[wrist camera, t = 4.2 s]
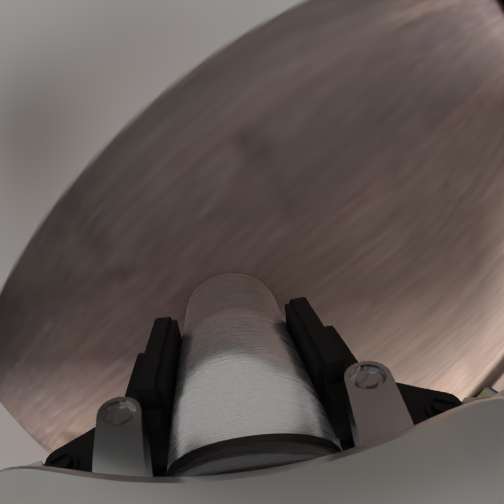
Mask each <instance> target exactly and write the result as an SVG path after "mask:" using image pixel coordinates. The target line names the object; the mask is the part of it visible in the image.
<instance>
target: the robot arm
mask: <svg viewBox="0 0 504 504" xmlns="http://www.w3.org/2000/svg"><path fill="white" fill-rule="evenodd" d="M285 314H286V325H287V327H288V330H289V332H290V334H291V336H292V339H293V341H294V343H295V345H296V348H297V350H298V352H299V354H300V356H301V359H302V361H303V363H304V365H305V368H306V370H307V372H308V374H309V377H310V379H311V381H312V383H313V386H314V388H315V390H316V392H317V395H318V397H319V399H320V401H321V404H322V406H323V408H324V410H325V413H326V415H327V417H328V419H329V422H330V424H331V426H332V428H333V431H334V433H335V435H336V437H337V440H338V442H339V444H340V447H341V449H342V451H341V452H338V453H334V454H331V455H327V456H323V457H319V458H315V459H311V460H307V461H303V462H298V463H294V464H289V465H284V466H279V467H273V468H267V469H261V470H254V471H247V472H239V473H231V474H220V475H207V476H188V477H166V476H167V463H168V451H169V440H170V430H171V420H172V411H173V402H174V394H175V385H176V378H177V370H178V363H179V355H180V348H181V342H182V338H181V334H180V331H179V327H178V323H177V321H176V320H172V319H171V317H166V318H157V319H155V322H154V325H153V328H152V331H151V334H150V337H149V341H148V344H147V347H146V350H145V353H140V354H138V356H137V359H136V362H135V365H134V368H133V372H132V375H131V378H130V381H129V384H128V387H127V391H126V394H125V397H117V398H113V399H111V400H109V401H107V402H105V403H104V404H103V405H102V406H101V407H100V409H99V410H98V413H97V418H96V427H95V428H93V429H91V430H90V431H88V432H86V433H85V434H83V435H81V436H80V437H78V438H76V439H74V440H73V441H71V442H69V443H67V444H66V445H64V446H62V447H60V448H58V449H57V450H55V451H54V452H52V453H51V454H50V455H49V456H48V458H47V459H46V462H45V464H43V463H42V461H39V462H36V463H33V464H29V465H26V466H18V467H10V468H6V469H3V470H0V504H504V396H500V397H482V398H464V400H463V401H460V400H459V399H458V398H457V397H456V396H454V395H452V394H449V393H446V392H440V391H435V390H430V389H424V388H419V387H415V386H410V385H405V384H401V383H396V382H395V380H394V378H393V376H392V374H391V372H390V370H389V369H388V368H387V367H386V366H384V365H383V364H381V363H378V362H373V361H362V362H358V361H357V360H356V358H355V357H354V355H353V354H352V353H351V351H350V350H349V348H348V347H347V345H346V344H345V342H344V341H343V340H342V338H341V337H340V335H339V334H338V332H337V331H336V330H335V328H334V327H333V326H326V327H324V325H323V324H322V322H321V321H320V319H319V318H318V316H317V315H316V313H315V312H314V310H313V309H312V307H311V305H310V304H309V302H308V301H307V299H306V298H305V297H302V298H296V299H291V300H290V304H285Z"/></svg>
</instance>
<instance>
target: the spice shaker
mask: <svg viewBox="0 0 504 504" xmlns="http://www.w3.org/2000/svg"><path fill="white" fill-rule="evenodd" d="M341 451H342V449H341V447H340V444H339V442H338V440H337V437H336V435H335V433H334V431H333V428H332V426H331V424H330V422H329V419H328V417H327V415H326V413H325V410H324V408H323V406H322V404H321V401H320V399H319V397H318V395H317V392H316V390H315V388H314V386H313V383H312V381H311V379H310V377H309V374H308V372H307V370H306V368H305V365H304V363H303V361H302V359H301V356H300V354H299V352H298V350H297V348H296V345H295V343H294V341H293V339H292V336H291V334H290V332H289V330H288V327H287V325H286V323H285V321H284V318H283V316H282V314H281V312H280V309H279V307H278V305H277V303H276V300H275V298H274V296H273V294H272V292H271V291H270V290H269V288H268V287H267V286H266V285H265V284H264V283H262V282H261V281H260V280H258V279H256V278H254V277H252V276H250V275H246V274H242V273H224V274H219V275H216V276H213V277H211V278H209V279H207V280H206V281H204V282H203V283H201V284H200V285H199V286H198V287H197V288H196V289H195V290H194V292H193V293H192V295H191V297H190V299H189V301H188V304H187V309H186V316H185V322H184V328H183V335H182V342H181V348H180V355H179V363H178V370H177V378H176V385H175V394H174V402H173V411H172V420H171V430H170V440H169V451H168V463H167V476H166V477H188V476H207V475H220V474H231V473H239V472H247V471H254V470H261V469H267V468H273V467H279V466H284V465H289V464H294V463H298V462H303V461H307V460H311V459H315V458H319V457H323V456H327V455H331V454H334V453H338V452H341Z"/></svg>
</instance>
